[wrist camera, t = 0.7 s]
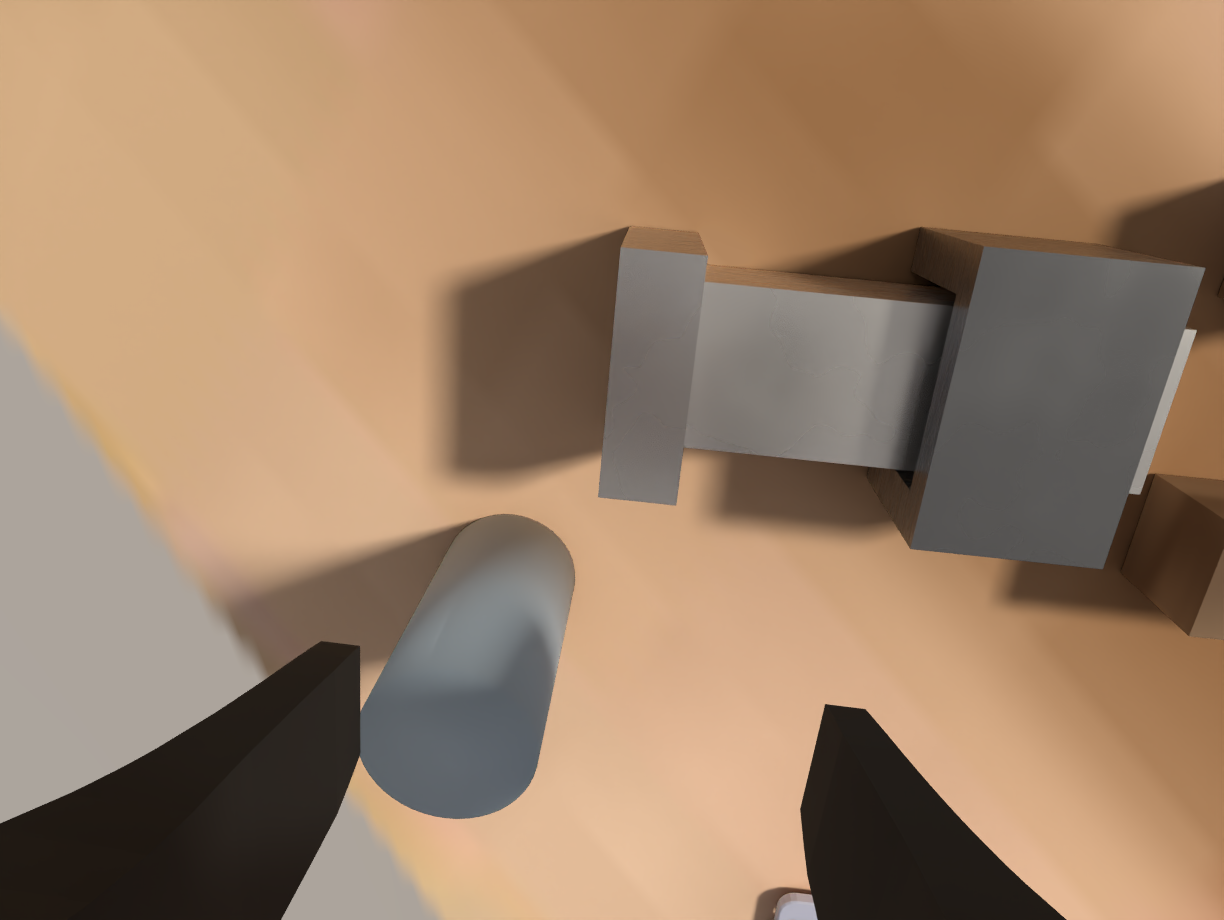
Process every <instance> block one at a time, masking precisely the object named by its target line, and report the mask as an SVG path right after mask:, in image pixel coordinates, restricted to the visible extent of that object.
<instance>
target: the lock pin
mask: <svg viewBox="0 0 1224 920" xmlns="http://www.w3.org/2000/svg"><path fill="white" fill-rule="evenodd" d="M707 259H708V255H707V252H706V250H705V247H704V245H703V242H702V240H701V237H700V235H699V233H696V232H686V231H676V230H665V229H655V228H645V227H634V226H630V227H629V230H628V232H627V234H626V236H625V239H624V241H623V243H622V245H621V249H620V260H619V271H618V282H617V293H616V304H615V315H614V326H613V338H612V349H611V360H610V371H609V382H608V393H607V404H606V415H605V426H604V438H603V449H602V460H601V471H600V482H599V493H598V497H600V498H610V499H619V500H629V501H638V502H648V503H657V504H667V505H676V503H677V495H678V487H679V479H680V471H681V463H682V456H683V448H684V447H685V448H695V449H704V450H714V451H724V452H733V453H743V454H753V455H762V456H772V457H782V458H791V459H801V460H811V461H820V462H830V463H839V464H849V465H859V466H868V467H878V468H888V469H897V470H907V471H915V467H916V463H917V459H918V455H919V450H920V446H921V442H922V438H923V433H924V429H925V425H926V421H927V417H928V412H929V408H930V404H931V400H932V396H933V391H934V387H935V383H936V379H937V374H938V370H939V366H940V362H941V358H942V353H943V349H944V345H945V341H946V337H947V332H948V328H949V324H950V320H951V315H952V311H953V307H954V303H955V299H956V293H954V292H952V291H950V290H948V289H946V288H941V287H931V286H920V285H910V284H900V283H890V282H880V281H870V280H859V279H849V278H839V277H829V276H819V275H808V274H798V273H788V272H778V271H768V270H757V269H747V268H737V267H727V266H717V265H707ZM1196 332H1197V330H1195V329H1192V328H1189V327H1185V330H1184V333H1183V336H1182V339H1181V342H1180V345H1179V348H1178V350H1177V353H1176V356H1175V359H1174V362H1173V365H1172V368H1171V371H1170V374H1169V377H1168V380H1167V383H1166V386H1165V389H1164V391H1163V394H1162V397H1161V400H1160V403H1159V406H1158V409H1157V412H1156V415H1155V418H1154V421H1153V424H1152V427H1151V430H1150V433H1149V435H1148V438H1147V441H1146V444H1145V447H1144V450H1143V453H1142V456H1141V459H1140V462H1139V465H1138V468H1137V471H1136V474H1135V476H1134V479H1133V482H1132V485H1131V488H1130V491H1129V494H1139V495H1140V493H1141V490H1142V488H1143V485H1144V482H1145V479H1146V476H1147V473H1148V470H1149V467H1150V464H1151V462H1152V459H1153V456H1154V453H1155V450H1156V447H1157V444H1158V441H1159V439H1160V436H1161V433H1162V430H1163V427H1164V424H1165V421H1166V418H1167V415H1168V413H1169V410H1170V407H1171V404H1172V401H1173V398H1174V395H1175V392H1176V389H1177V387H1178V384H1179V381H1180V378H1181V375H1182V372H1183V369H1184V366H1185V364H1186V361H1187V358H1188V355H1189V352H1190V349H1191V346H1192V343H1193V340H1194V338H1195V335H1196Z"/></svg>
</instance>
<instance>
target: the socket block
mask: <svg viewBox="0 0 1224 920" xmlns="http://www.w3.org/2000/svg"><path fill="white" fill-rule="evenodd" d="M1218 297H1220V298H1224V279H1223V282H1222V285H1221V288H1220V291H1219V294H1218ZM1121 573H1122V574H1123V575H1124V576H1125V577H1126V578H1127V579H1128V580H1129V581H1130V582H1131V583H1132V584H1133V585H1134V586H1136V587H1137V588H1138V589H1139V590H1140V591H1141V592H1142V593H1143V594H1144V595H1145V596H1146V597H1147V598H1148V599H1149V600H1151V601H1152V602H1153V603H1154V604H1155V605H1156V606H1157V607H1158V608H1159V609H1160V610H1161V611H1162V612H1163V613H1165V614H1166V615H1167V616H1168V617H1169V618H1170V619H1171V620H1172V621H1173V622H1174V623H1175V624H1176V625H1177V626H1179V627H1180V628H1181V629H1182V630H1183V631H1184V632H1185V633H1186V634H1187V635H1188V636H1191V637H1201V638H1210V639H1219V640H1224V481H1222V480H1212V479H1203V478H1193V477H1183V476H1173V475H1164V474H1155V476H1154V479H1153V482H1152V485H1151V488H1150V491H1149V493H1148V496H1147V499H1146V502H1145V505H1144V508H1143V511H1142V513H1141V516H1140V519H1139V522H1138V525H1137V528H1136V530H1135V533H1134V536H1133V539H1132V542H1131V545H1130V548H1129V550H1128V553H1127V556H1126V559H1125V562H1124V565H1123V568H1122V570H1121Z"/></svg>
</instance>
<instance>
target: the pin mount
mask: <svg viewBox="0 0 1224 920" xmlns="http://www.w3.org/2000/svg"><path fill="white" fill-rule="evenodd" d="M1204 271H1205V268H1204V267H1200V266H1195V265H1191V264H1186V263H1182V262H1177V261H1172V260H1168V259H1163V258H1159V257H1154V256H1150V255H1145V254H1141V253H1136V252H1132V251H1127V250H1122V249H1118V248H1113V247H1109V246H1104V245H1100V244H1092V243H1082V242H1072V241H1061V240H1051V239H1040V238H1030V237H1020V236H1009V235H999V234H989V233H978V232H968V231H957V230H947V229H937V228H926V227H920V232H919V236H918V241H917V246H916V250H915V255H914V260H913V264H912V269H911V272H913V273H915V274H917V275H919V276H921V277H923V278H925V279H927V280H929V281H931V282H933V283H936V284H938V285H940V286H942V287H944V288H946V289H948V290H950V291H952V292H954V293H956V299H955V303H954V307H953V311H952V315H951V320H950V324H949V328H948V332H947V337H946V341H945V345H944V349H943V353H942V358H941V362H940V366H939V370H938V374H937V379H936V383H935V387H934V391H933V396H932V400H931V404H930V408H929V412H928V417H927V421H926V425H925V429H924V433H923V438H922V442H921V446H920V450H919V455H918V459H917V463H916V467H915V471H907V470H897V469H888V468H878V467H869V469H868V473H867V479H868V481H869V483H870V484H871V486H872V487H873V489H874V491H875V492H876V494H877V496H878V497H879V499H880V500H881V502H882V504H883V505H884V507H885V509H886V510H887V512H888V513H889V515H890V517H891V518H892V520H893V522H894V523H895V525H896V526H897V528H898V530H899V531H900V533H901V535H902V536H903V538H904V540H905V541H906V543H907V544H908V546H909V548H910V549H916V550H925V551H935V552H944V553H954V554H963V555H973V556H982V557H991V558H1001V559H1010V560H1020V561H1029V562H1039V563H1048V564H1058V565H1067V566H1076V567H1086V568H1095V569H1103V567H1104V564H1105V561H1106V559H1107V556H1108V553H1109V550H1110V547H1111V544H1112V541H1113V538H1114V535H1115V532H1116V529H1117V526H1118V523H1119V520H1120V517H1121V515H1122V512H1123V509H1124V506H1125V503H1126V500H1127V497H1128V494H1129V491H1130V488H1131V485H1132V482H1133V479H1134V476H1135V474H1136V471H1137V468H1138V465H1139V462H1140V459H1141V456H1142V453H1143V450H1144V447H1145V444H1146V441H1147V438H1148V435H1149V433H1150V430H1151V427H1152V424H1153V421H1154V418H1155V415H1156V412H1157V409H1158V406H1159V403H1160V400H1161V397H1162V394H1163V391H1164V389H1165V386H1166V383H1167V380H1168V377H1169V374H1170V371H1171V368H1172V365H1173V362H1174V359H1175V356H1176V353H1177V350H1178V348H1179V345H1180V342H1181V339H1182V336H1183V333H1184V330H1185V327H1186V324H1187V321H1188V318H1189V315H1190V312H1191V309H1192V306H1193V304H1194V301H1195V298H1196V295H1197V292H1198V289H1199V286H1200V283H1201V280H1202V277H1203V274H1204Z"/></svg>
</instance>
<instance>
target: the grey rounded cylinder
mask: <svg viewBox="0 0 1224 920" xmlns="http://www.w3.org/2000/svg"><path fill="white" fill-rule="evenodd" d="M574 585H575V569H574V564H573V560H572V557H571V555H570V553H569V551H568V549H567V547H566V546H565V544H564V543H563V542H562V540H561V539H560V538H559V537H558V536H557V535H556V534H555V533H554V532H553V531H551V530H550V529H549V528H547V527H546V526H544V525H543V524H541V523H539V522H537V521H535V520H532V519H530V518H526V517H523V516H518V515H509V514H501V515H493V516H488V517H485V518H482V519H479V520H477V521H475V522H473V523H471V524H470V525H468V526H467V527H465V528H464V529H463V530H462V531H461V532H460V533H459V534H458V535H457V536H456V538H455V539H454V540H453V542H452V544H451V545H450V547H449V549H448V551H447V553H446V555H445V557H444V558H443V560H442V562H441V564H440V566H439V568H438V569H437V571H436V573H435V575H434V577H433V579H432V581H431V582H430V584H429V586H428V588H427V590H426V592H425V593H424V595H423V597H422V599H421V601H420V603H419V605H418V606H417V608H416V610H415V612H414V614H413V616H412V617H411V619H410V621H409V623H408V625H407V627H406V629H405V630H404V632H403V634H402V636H401V638H400V640H399V641H398V643H397V645H396V647H395V649H394V651H393V653H392V654H391V656H390V658H389V660H388V662H387V664H386V665H385V667H384V669H383V671H382V673H381V675H380V677H379V678H378V680H377V682H376V684H375V686H374V688H373V689H372V691H371V693H370V695H369V697H368V699H367V701H366V702H365V704H364V706H363V708H362V710H361V713H360V751H361V753H360V758H361V760H362V762H363V765H364V767H365V768H366V770H367V772H368V773H369V775H370V776H371V777H372V779H373V780H374V781H375V782H376V784H377V785H378V786H379V787H380V788H381V789H382V790H383V791H385V792H386V793H387V794H388V795H390V796H391V797H392V798H394V799H395V800H397V801H398V802H400V803H401V804H403V805H405V806H407V807H409V808H411V809H414V810H416V811H419V812H421V813H424V814H428V815H432V816H436V817H442V818H452V819H465V818H474V817H480V816H484V815H488V814H491V813H493V812H496V811H498V810H501V809H502V808H504V807H506V806H508V805H509V804H511V803H512V802H513V801H515V800H516V799H517V798H518V797H519V796H520V795H521V794H522V793H523V792H524V791H525V790H526V788H527V787H528V786H529V784H530V782H531V780H532V779H533V777H534V774H535V771H536V768H537V764H538V759H539V754H540V749H541V745H542V740H543V735H544V730H545V725H546V721H547V716H548V711H549V706H550V701H551V696H552V692H553V687H554V682H555V677H556V672H557V668H558V663H559V658H560V653H561V648H562V643H563V639H564V634H565V629H566V624H567V619H568V615H569V610H570V605H571V600H572V595H573V590H574Z"/></svg>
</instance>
